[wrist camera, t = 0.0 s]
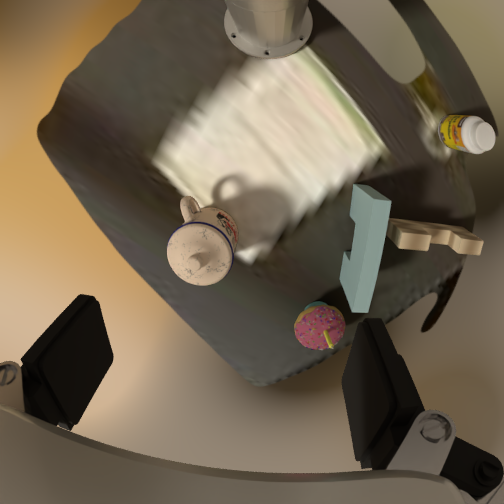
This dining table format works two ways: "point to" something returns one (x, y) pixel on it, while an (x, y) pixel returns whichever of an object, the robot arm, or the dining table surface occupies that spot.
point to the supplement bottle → (466, 133)
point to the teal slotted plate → (364, 246)
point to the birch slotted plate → (432, 236)
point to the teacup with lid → (202, 244)
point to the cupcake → (319, 326)
